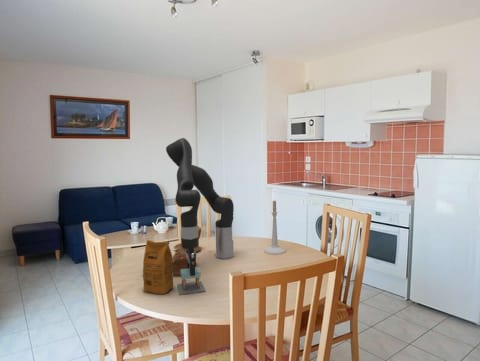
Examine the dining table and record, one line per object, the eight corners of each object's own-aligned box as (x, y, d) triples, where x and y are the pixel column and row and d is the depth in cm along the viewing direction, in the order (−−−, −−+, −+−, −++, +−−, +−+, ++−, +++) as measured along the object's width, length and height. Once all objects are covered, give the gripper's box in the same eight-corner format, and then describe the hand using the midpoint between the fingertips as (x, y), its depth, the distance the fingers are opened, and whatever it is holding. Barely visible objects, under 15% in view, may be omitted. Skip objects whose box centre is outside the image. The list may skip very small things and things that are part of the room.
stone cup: (206, 249, 213) (205, 224, 212) (193, 255, 203) (192, 229, 202) (186, 245, 221) (185, 222, 220) (173, 251, 211) (172, 226, 210)
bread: (193, 276, 171) (192, 256, 170) (170, 276, 171) (170, 256, 170) (197, 263, 190) (196, 244, 189) (177, 263, 190) (176, 245, 189)
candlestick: (280, 255, 199) (279, 202, 195) (259, 252, 205) (259, 201, 202) (289, 249, 210) (289, 199, 206) (269, 246, 216) (269, 197, 213)
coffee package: (153, 283, 163) (151, 236, 161) (176, 287, 158) (174, 238, 156) (139, 292, 154) (137, 242, 152) (163, 296, 149) (161, 245, 147)
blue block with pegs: (180, 285, 159) (180, 269, 158) (198, 283, 161) (198, 267, 160) (182, 290, 153) (181, 274, 152) (201, 288, 155) (200, 272, 154)
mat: (201, 282, 164) (201, 280, 163) (205, 291, 153) (205, 290, 153) (177, 285, 161) (176, 283, 161) (179, 295, 150) (179, 293, 150)
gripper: (179, 232, 160) (180, 267, 162) (182, 241, 146) (184, 279, 148) (195, 231, 162) (197, 265, 164) (201, 239, 148) (202, 277, 150)
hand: (191, 272), depth 156 cm, fingers open, 8 cm apart
